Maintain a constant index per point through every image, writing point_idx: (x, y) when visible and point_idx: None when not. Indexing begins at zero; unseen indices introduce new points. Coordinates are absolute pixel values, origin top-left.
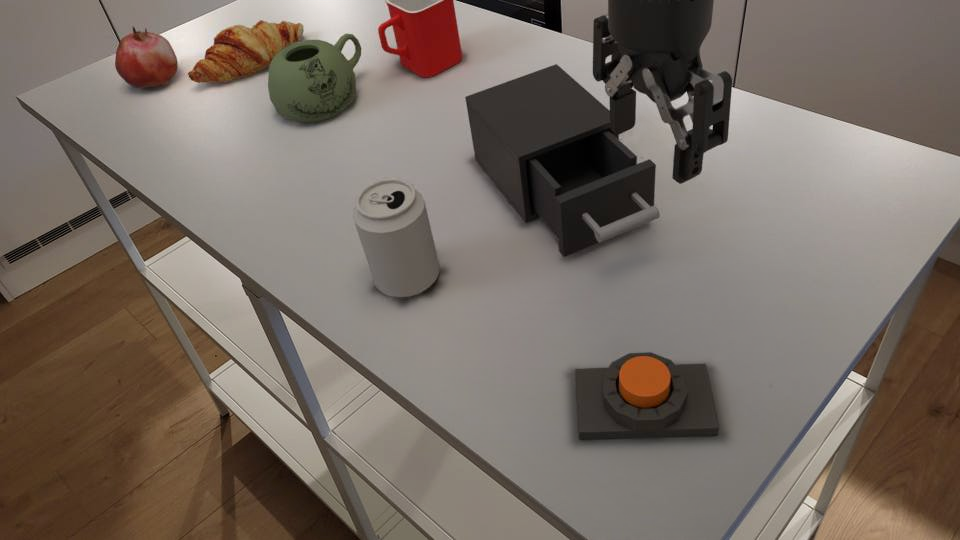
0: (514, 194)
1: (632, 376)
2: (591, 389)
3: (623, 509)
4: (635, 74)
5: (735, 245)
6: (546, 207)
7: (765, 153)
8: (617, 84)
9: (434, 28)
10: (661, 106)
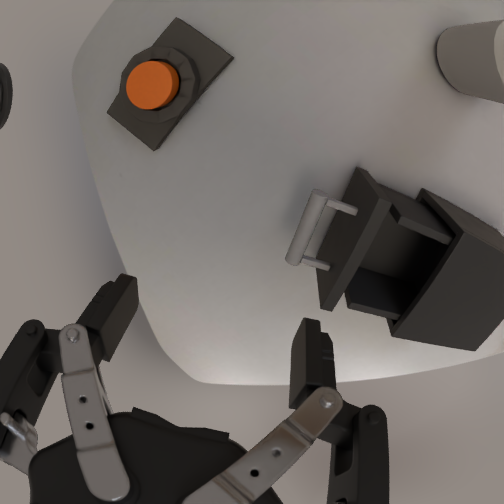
0: (448, 206)
1: (155, 75)
2: (201, 52)
3: (116, 16)
4: (210, 471)
5: (240, 275)
6: (407, 203)
7: (289, 355)
8: (274, 433)
9: None
10: (84, 404)
